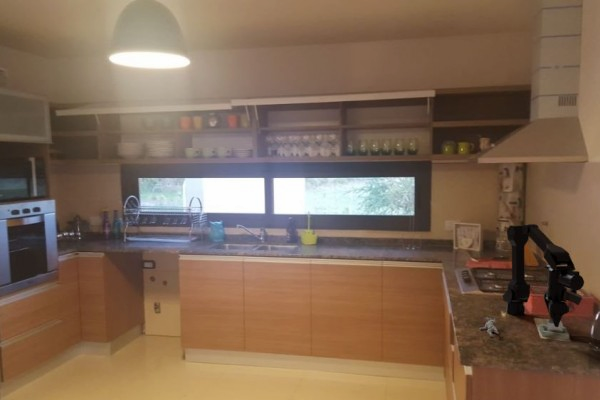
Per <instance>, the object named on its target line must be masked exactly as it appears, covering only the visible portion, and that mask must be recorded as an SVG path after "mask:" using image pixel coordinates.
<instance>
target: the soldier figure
mask: <svg viewBox="0 0 600 400" xmlns="http://www.w3.org/2000/svg"><path fill="white" fill-rule="evenodd" d="M485 320H486V322H485V325H484V327H479V330H486V329H487V330H486V331H487V334H488V336H489V337H492V338H493V337H495V336H494V334H493V332H494V333H496V334H497V335H499V331H498V329H497V327H496V326H495V324H494V323H497V318H496V317H493V318H491V317H488V316H486V317H485Z"/></svg>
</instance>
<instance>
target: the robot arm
mask: <svg viewBox="0 0 600 400" xmlns="http://www.w3.org/2000/svg"><path fill="white" fill-rule="evenodd" d="M506 235H507V241H508V242H509V243H510V245H511V280H510V281H509V283H508V284H507V291H505V293H504V294H503V295H502V299H503V300H502V301H504V302H506V314H508V315H511V316H525V312H526V311H525V310H526V309H525V308H526V307H525V304H526V303H528V301H529V298H530V296H531V285H530V284H529V283H528V282H527V281H526V274H525V273H526V270H525V269H526V267H525V264H526V263H525V259H526V258H525V252H526V251H525V246H526V244H527V243H528V241H529V238H530V239H531V240H532V242H533V243H535V244H536V246H537V247H538V248H539V249H540V250H541V251H542V253H543V254H542V255H543V258H544V260H545V261H546V263H547V265H545V266H544V269H546V270H548V274H547V275H548V278H547V280H548V281H547V283H546V286H547V290H544V291H543V293H542V296H543V301H544V303H545V306H546V309H547V312H548V314H549V317H550V320H553V323H554V326H555V327H558V326H559V323H560V321H561V322H562V317H563V316H564V315H567V314H569V313H570V306H569V304H568V303H566V302H567V301H568V302H570V303H573V304H575V305H577V306H580V304H581V301H582V300H583V296H582V295H581V294H579V293H578V291H580V290H581V289H582V288H583V287H584V284H585V281H584V278H583V276H582V275H580V271H578V270H576V267H575V264H574V262H573V260H572V258H571V255H570V253H569V252H568V250H566V249H565V248H563V246H562V247H561V246H559V245H557V244H555V243H553V242H552V240H551V239H549V238H548V236H547V235H546V234H545V233H544V232H543V231H542V230H541V229H540V228H539V226H538V225H537V224H535V223H526V224H523V225H522V224H518V225H516V224H515V225H509V226H508V228H507V229H506ZM524 303H525V304H524Z"/></svg>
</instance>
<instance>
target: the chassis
mask: <svg viewBox="0 0 600 400" xmlns="http://www.w3.org/2000/svg"><path fill="white" fill-rule="evenodd" d="M546 319H547V318H539V317H533V321H534V323H535V326H536V330H537V331H538V335H539V337H540V339H545V340H546V339H547V340H549V341H548V342H551V341H550V340H552V341H553V340H556V341H562V342H565V343H564V344H567V343H566V342H568V343H569V342H570V343H572V340H571V339H570V333H569V332H568V330H567V328H566V326H563V329H562V333H558V332H550V331H546ZM541 341H543V340H541ZM556 343H559V342H556Z"/></svg>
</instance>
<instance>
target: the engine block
mask: <svg viewBox="0 0 600 400" xmlns="http://www.w3.org/2000/svg"><path fill="white" fill-rule="evenodd" d="M545 319H546V331H550V332H558V333H562V329H563V327H564V325H563V322H562V320H561V321H560V323H559V326H558V327H555V326H554V323H553V320H552V319H547V318H545Z"/></svg>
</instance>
